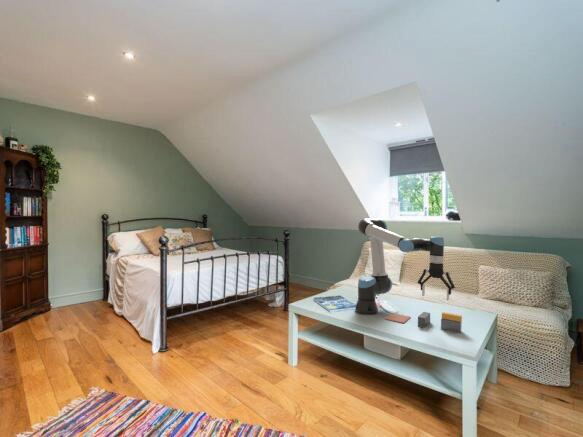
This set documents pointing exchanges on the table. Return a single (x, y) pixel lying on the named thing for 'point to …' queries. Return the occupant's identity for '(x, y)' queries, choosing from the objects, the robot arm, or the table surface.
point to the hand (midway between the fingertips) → (435, 297)
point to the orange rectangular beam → (452, 316)
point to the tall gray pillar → (423, 319)
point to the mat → (397, 318)
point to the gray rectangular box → (451, 325)
